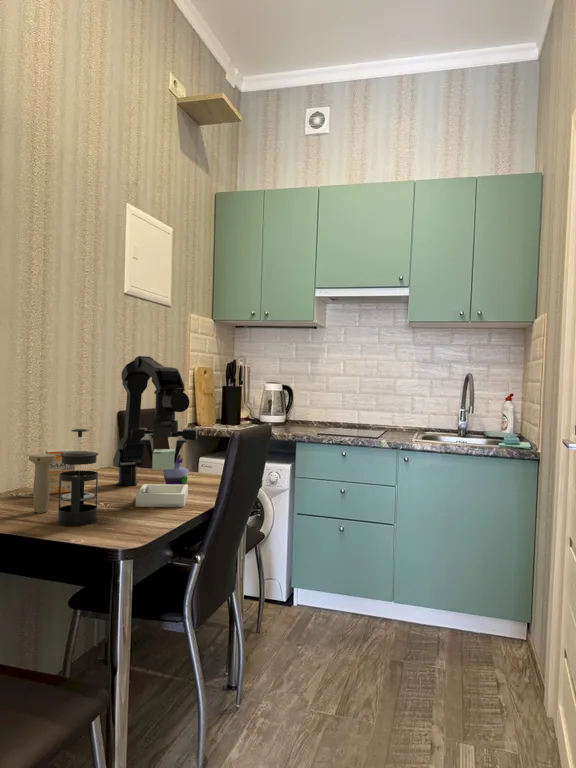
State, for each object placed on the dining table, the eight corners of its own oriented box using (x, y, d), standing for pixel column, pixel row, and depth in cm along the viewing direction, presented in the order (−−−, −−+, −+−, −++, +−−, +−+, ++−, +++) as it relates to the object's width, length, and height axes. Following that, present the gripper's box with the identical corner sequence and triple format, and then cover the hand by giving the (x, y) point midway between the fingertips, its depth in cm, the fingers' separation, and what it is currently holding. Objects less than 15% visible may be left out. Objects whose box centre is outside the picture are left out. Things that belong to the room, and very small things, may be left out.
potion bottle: (184, 494, 173) (186, 456, 173) (157, 493, 174) (158, 455, 174) (191, 489, 182) (192, 452, 182) (165, 488, 182) (166, 451, 182)
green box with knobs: (154, 464, 167) (154, 448, 167) (174, 464, 168) (174, 448, 168) (152, 469, 157) (152, 453, 157) (173, 469, 158) (174, 453, 158)
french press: (60, 516, 141) (63, 427, 141) (99, 515, 144) (101, 427, 144) (53, 528, 130) (55, 431, 130) (95, 527, 132) (97, 431, 132)
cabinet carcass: (143, 495, 169) (143, 484, 169) (187, 496, 170) (188, 484, 170) (135, 506, 155) (135, 493, 155) (183, 506, 156) (184, 494, 156)
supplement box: (46, 494, 167) (47, 451, 167) (43, 491, 171) (45, 449, 171) (75, 492, 171) (76, 450, 171) (71, 489, 175) (73, 448, 175)
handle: (49, 514, 143) (51, 456, 143) (24, 514, 143) (26, 456, 143) (56, 510, 148) (58, 454, 148) (32, 509, 148) (33, 453, 148)
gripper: (127, 411, 153) (126, 467, 153) (195, 412, 155) (193, 467, 155) (134, 408, 164) (133, 461, 165) (198, 410, 166) (196, 462, 166)
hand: (163, 463), depth 162 cm, fingers closed on green box with knobs, 6 cm apart
